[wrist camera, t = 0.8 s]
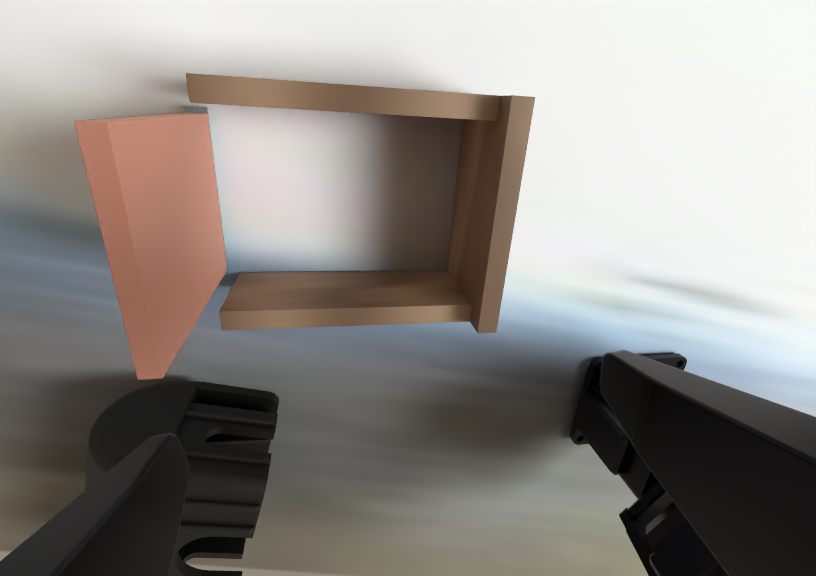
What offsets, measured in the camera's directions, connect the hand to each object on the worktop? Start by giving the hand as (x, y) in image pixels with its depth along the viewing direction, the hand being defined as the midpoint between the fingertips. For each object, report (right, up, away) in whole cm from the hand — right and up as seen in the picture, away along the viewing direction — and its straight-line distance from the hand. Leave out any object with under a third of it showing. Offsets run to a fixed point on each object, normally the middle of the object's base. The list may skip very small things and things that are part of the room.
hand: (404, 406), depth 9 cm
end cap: (-12, -6, +14) cm, 20 cm away
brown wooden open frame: (-3, +7, +10) cm, 12 cm away
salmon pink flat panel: (-8, +6, +8) cm, 13 cm away
